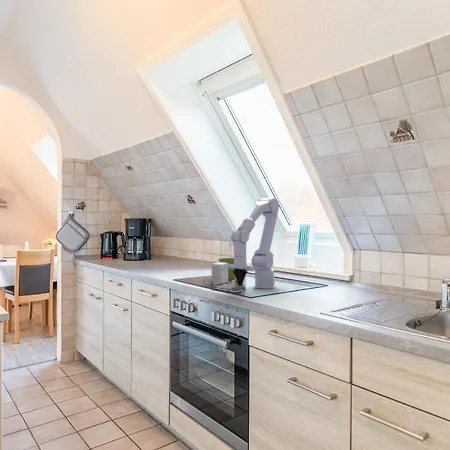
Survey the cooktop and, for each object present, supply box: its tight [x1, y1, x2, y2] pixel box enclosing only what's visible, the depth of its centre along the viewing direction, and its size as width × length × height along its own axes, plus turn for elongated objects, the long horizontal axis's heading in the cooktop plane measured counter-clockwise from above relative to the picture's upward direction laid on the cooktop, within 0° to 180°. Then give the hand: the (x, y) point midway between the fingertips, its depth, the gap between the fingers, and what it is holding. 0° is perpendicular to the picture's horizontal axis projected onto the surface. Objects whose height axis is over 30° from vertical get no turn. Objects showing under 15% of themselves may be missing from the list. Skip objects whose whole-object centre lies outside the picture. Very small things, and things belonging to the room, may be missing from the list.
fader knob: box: [231, 278, 238, 288], centre depth 195 cm, size 2×3×4 cm, turn 142°
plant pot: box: [217, 257, 236, 281], centre depth 230 cm, size 12×12×11 cm
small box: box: [211, 261, 229, 283], centre depth 216 cm, size 8×6×10 cm
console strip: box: [211, 282, 247, 291], centre depth 197 cm, size 14×8×3 cm, turn 52°
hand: (240, 285), depth 193 cm, fingers closed
